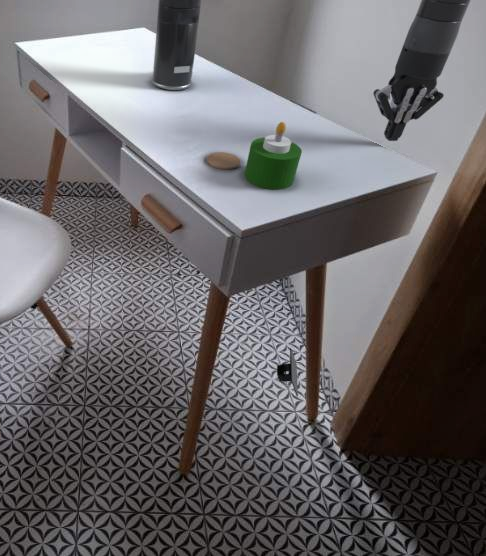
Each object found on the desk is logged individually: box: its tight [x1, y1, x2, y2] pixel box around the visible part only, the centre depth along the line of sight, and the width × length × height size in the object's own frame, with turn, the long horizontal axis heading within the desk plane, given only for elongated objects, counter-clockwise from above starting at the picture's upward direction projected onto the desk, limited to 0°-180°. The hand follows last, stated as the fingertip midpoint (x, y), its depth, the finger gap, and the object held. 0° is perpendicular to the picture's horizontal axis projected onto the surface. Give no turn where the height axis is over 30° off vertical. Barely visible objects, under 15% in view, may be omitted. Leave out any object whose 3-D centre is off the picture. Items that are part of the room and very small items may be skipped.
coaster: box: [206, 151, 241, 170], centre depth 93 cm, size 6×6×1 cm
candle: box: [244, 121, 302, 191], centre depth 86 cm, size 8×8×10 cm
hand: (390, 139), depth 100 cm, fingers closed
